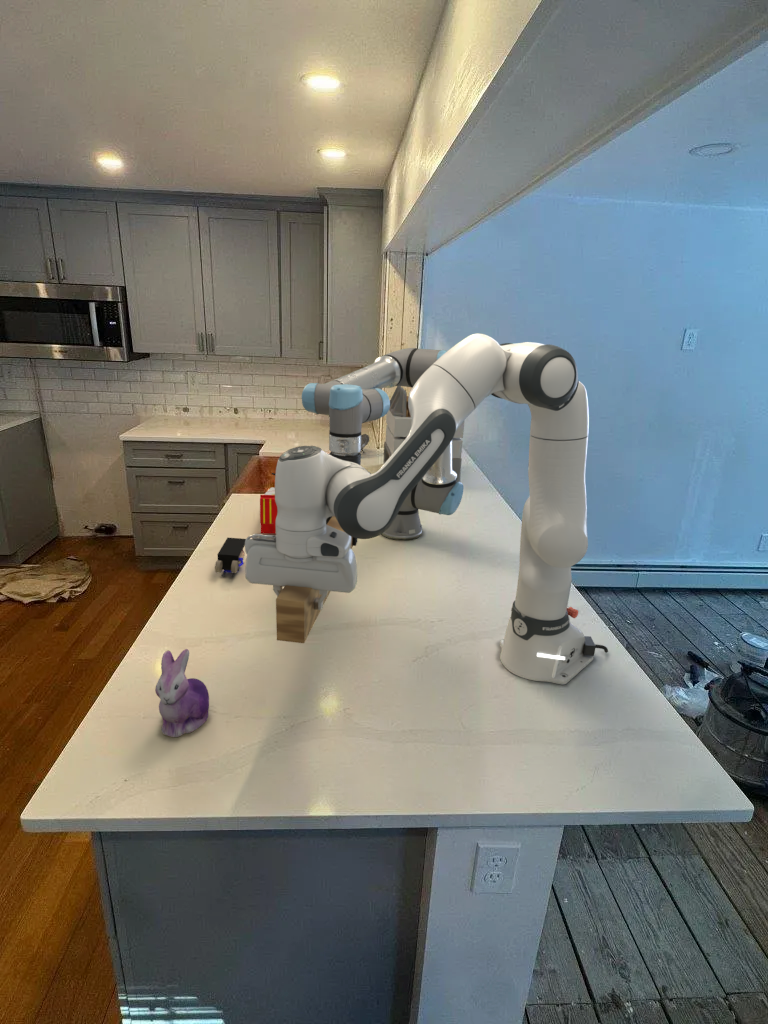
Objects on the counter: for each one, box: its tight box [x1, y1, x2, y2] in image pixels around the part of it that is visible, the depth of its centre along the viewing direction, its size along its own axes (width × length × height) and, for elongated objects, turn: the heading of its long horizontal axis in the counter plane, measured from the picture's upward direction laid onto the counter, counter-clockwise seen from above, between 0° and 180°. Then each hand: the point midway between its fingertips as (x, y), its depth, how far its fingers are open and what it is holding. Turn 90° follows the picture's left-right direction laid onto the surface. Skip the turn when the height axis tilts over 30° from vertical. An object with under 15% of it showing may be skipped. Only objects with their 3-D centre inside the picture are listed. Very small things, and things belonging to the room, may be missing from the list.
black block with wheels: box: [214, 537, 246, 578], centre depth 166 cm, size 7×8×15 cm
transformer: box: [382, 386, 466, 482], centre depth 268 cm, size 34×33×41 cm
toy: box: [259, 487, 278, 535], centre depth 206 cm, size 12×13×30 cm
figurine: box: [154, 648, 210, 738], centre depth 104 cm, size 9×10×15 cm
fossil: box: [361, 433, 370, 454], centre depth 306 cm, size 22×10×15 cm
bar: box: [275, 516, 354, 644], centre depth 123 cm, size 53×5×8 cm, turn 172°
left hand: (343, 542), depth 142 cm, fingers closed on bar, 5 cm apart
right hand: (301, 606), depth 105 cm, fingers closed on bar, 5 cm apart
